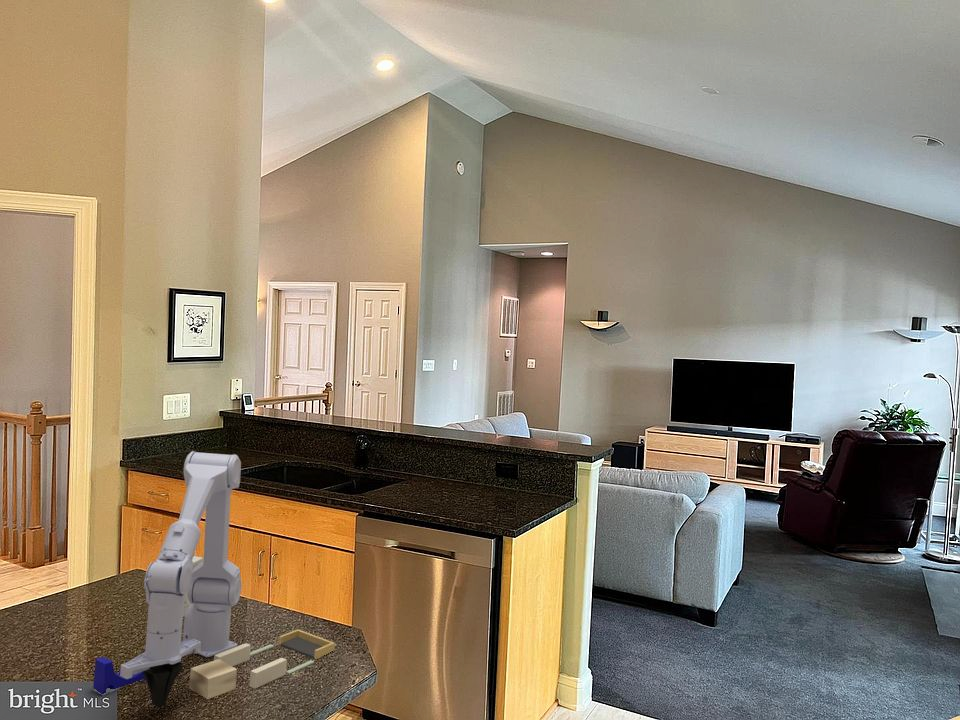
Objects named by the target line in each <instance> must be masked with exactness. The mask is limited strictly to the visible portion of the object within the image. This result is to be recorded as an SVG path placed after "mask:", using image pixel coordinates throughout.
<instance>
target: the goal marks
mask: <svg viewBox="0 0 960 720" xmlns="http://www.w3.org/2000/svg"><path fill="white" fill-rule="evenodd" d="M274 647H275V645H273V644H268V645H265V646H263V647H260V648H258V649H255V650H252V651H251V652H250V657H252V656H255V655H257V654H260V653H262V652H265V651H267V650H270V649H272V648H274ZM313 664H315V661H313V660H311V659H310V660H309V661H306V662H304V663H302V664H299V665H297V666H295V667H292V668H291V669H289V670H286V674H288V675H291V674H294V673H296V672H298V671H300V670H302V669H304V668H306V667H308V666H311V665H313Z"/></svg>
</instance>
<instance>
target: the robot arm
mask: <svg viewBox="0 0 960 720" xmlns="http://www.w3.org/2000/svg"><path fill="white" fill-rule="evenodd" d="M241 470H242V461H241V460H240V458H239V456H238V454H225V453H223V454H222V453H208V452H198V451H191V452H189V454H187V456H186V458H185V461H184V464H183V477H184V483H185V486H186V492H185V496H184V499H183V503H182V507H181V510H180V513H179V517H178V520H177V521H175V522H174V523H171V524H170V526H169V527H168V530H167V532H166V535H165V537H164V540H163V542H162V546H161V548H160V550H159V553H158V556H157V558H156V560H155V561H151V562H150V563H149V565H148V567H147V569H146V572H145V577H144V583H143V585H144V586H143V587H144V591H145V596H146V597H145V603H146V604H147V605H148V611H147V621H146V622H147V623H146V635H145V636H146V637H145V649H144V650H145V651H144V652H142V653H140V654H139V655H137V656H135V657H133V658H132V659H130V660H128V661H127V662H124V663H122V664H120V669H119V670H120V676H122V677H123V678H126V679H129V678H132V675H134V674H137V673H140V672H142V673H143V675H144V677H145V681H146V683H147V686H148V691H149V694H150V699H151V705H153V706H154V707H157V708H161V707H164V706H166V705H167V702H168V698H169V696H170V693H171V690H172V687H173V685H174V683H175V681H176V679H177V678H178V676H179V674H180V673H181V671H182V670H183V663H182V661H181V660H182V658H183V657H185V656H188V655H191V654H194V655H195V654H198V655H200V656H202V657H205V658H210V657H211V658H212V657H213V656H214V655H216V654H219V653H222V652H224V651H227V650H229V649H232V648H235V647H237V646H238V643H236V642H234V641H231V640H230V630H231V617H232V607H235V605H237V604H238V602H239V600H240V597H241V593H242V579H241V571H240V570H241V569H240V567H238V566H237V565H236V564H235V563H233V562H231V561H230V560H229V559H228V557H229V556H228V551H229V530H230V513H231V511H230V509H231V495H232V490H233V489H238V488H239V487H240V483H241V473H242V472H241ZM204 513H205V518H204V519H205V521H204V522H205V523H204V540H203V541H204V545H203V562H202V563H200V564H199V565H197V566H196V567H195V568H194V570H193V571H192V568H193V561H192V559H193V556H195V553H196V550H197V548H198V545H199V542H200V539H201V536H202V531H201V529H200V528H199V523H201V522H200V521H201V519H202V518H203V515H204ZM187 589H188V599H189V601H190V603H191V605H190V606H189V607H188V609H187V611H186V613H185V616H184V617H183V608H184V595H185V593H186V591H187ZM182 631H183V635H182Z"/></svg>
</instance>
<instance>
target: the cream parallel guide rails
mask: <svg viewBox="0 0 960 720" xmlns="http://www.w3.org/2000/svg"><path fill="white" fill-rule="evenodd" d="M251 648H252V645H251V644H249V643H247V642H244V643H242V644H240V645H237V647H234V648H231V649H229V650H226V651H224V652H221V653H218V654H216V655H213V656H214V657H213V661H215V660H218V659H220V660H221V661H223V662H225V663H227V664H229V665H230V666H232V667H235V666H237V665H240V664H242V663H244V662H247V661H249V660H251V656H250V652H252V651H251V650H252V649H251ZM287 664H288V660H287V659H286V658H284V657H280V658H278V659H274V660H273V661H271V662H268V663H265V664H263V665H261V666H258V667H256V668H253V669H252V670H250V675H249V687H250V688H251V689H252V688H253V689H258V688H259V687H261V686H264V685H266V684H268V683H271V682H272V681H275V680H276V679H280V678H282V677H284V676H286V674H287V673H286V671H287Z"/></svg>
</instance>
